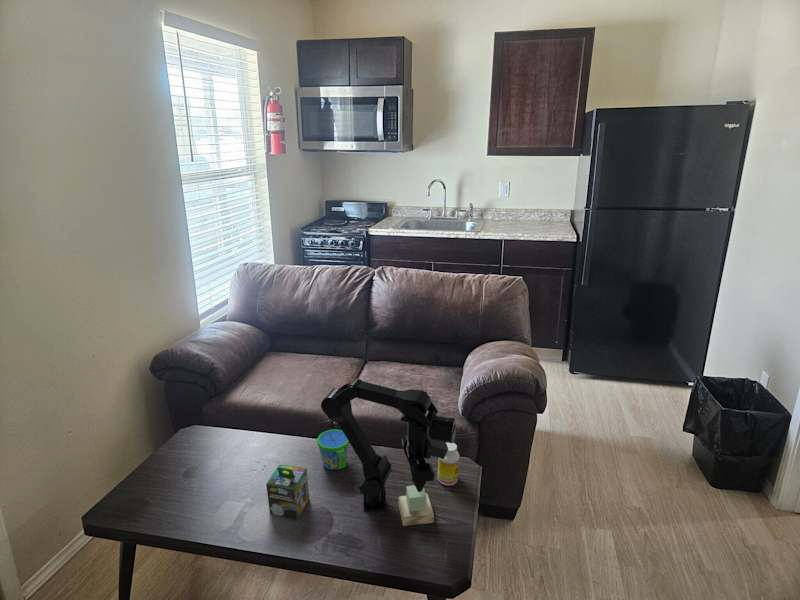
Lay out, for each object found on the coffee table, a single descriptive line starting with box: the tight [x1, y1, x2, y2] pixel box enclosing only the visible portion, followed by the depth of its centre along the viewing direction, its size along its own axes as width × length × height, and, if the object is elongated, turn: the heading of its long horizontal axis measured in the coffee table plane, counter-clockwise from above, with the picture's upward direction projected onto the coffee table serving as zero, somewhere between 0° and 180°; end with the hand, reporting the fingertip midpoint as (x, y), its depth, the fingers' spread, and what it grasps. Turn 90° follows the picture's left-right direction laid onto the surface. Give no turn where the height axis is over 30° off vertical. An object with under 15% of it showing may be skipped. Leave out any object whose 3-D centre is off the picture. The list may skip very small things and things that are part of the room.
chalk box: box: [265, 464, 310, 520], centre depth 152 cm, size 9×9×15 cm
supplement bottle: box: [437, 442, 460, 486], centre depth 164 cm, size 7×7×13 cm
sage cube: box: [405, 484, 427, 512], centre depth 151 cm, size 5×5×5 cm
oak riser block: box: [397, 493, 435, 527], centre depth 152 cm, size 9×9×3 cm
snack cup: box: [316, 428, 350, 471], centre depth 171 cm, size 16×10×10 cm
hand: (416, 480), depth 148 cm, fingers open, 9 cm apart
